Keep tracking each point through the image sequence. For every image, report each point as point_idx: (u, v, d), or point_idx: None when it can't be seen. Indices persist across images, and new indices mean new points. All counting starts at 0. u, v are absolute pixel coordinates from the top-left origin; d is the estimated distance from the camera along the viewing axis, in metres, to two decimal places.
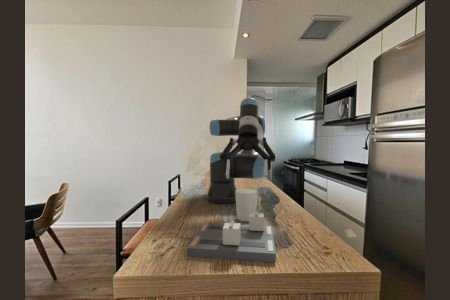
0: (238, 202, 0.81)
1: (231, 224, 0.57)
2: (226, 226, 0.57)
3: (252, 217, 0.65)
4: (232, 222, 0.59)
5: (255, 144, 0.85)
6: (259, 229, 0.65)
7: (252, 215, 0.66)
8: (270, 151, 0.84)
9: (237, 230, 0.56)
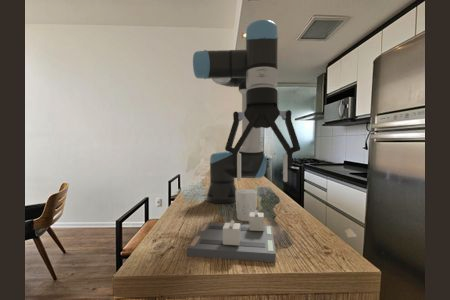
0: (238, 202, 0.81)
1: (231, 224, 0.57)
2: (226, 226, 0.57)
3: (252, 217, 0.65)
4: (232, 222, 0.59)
5: (273, 124, 0.54)
6: (259, 229, 0.65)
7: (252, 215, 0.66)
8: (294, 138, 0.54)
9: (237, 230, 0.56)
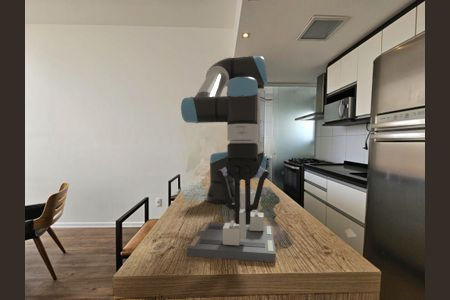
0: None
1: (231, 224, 0.57)
2: (226, 226, 0.57)
3: (252, 217, 0.65)
4: (232, 222, 0.59)
5: (247, 179, 0.55)
6: (259, 229, 0.65)
7: (252, 215, 0.66)
8: (257, 197, 0.56)
9: (237, 230, 0.56)
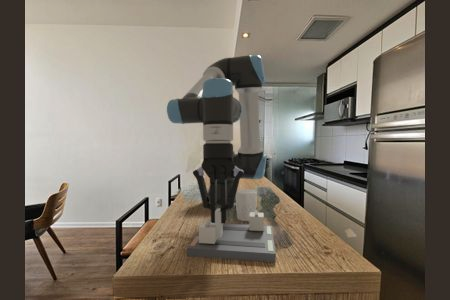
0: (238, 202, 0.81)
1: (207, 223, 0.58)
2: (202, 225, 0.58)
3: (252, 217, 0.65)
4: (209, 221, 0.59)
5: (222, 179, 0.56)
6: (259, 229, 0.65)
7: (252, 215, 0.66)
8: (232, 196, 0.57)
9: (213, 229, 0.57)
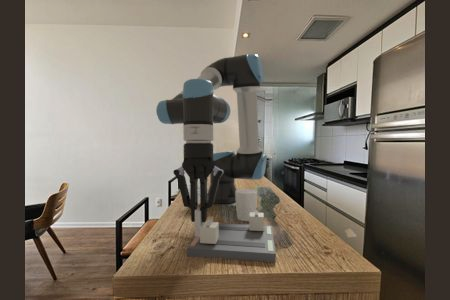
0: (238, 202, 0.81)
1: (208, 223, 0.58)
2: (203, 225, 0.58)
3: (252, 217, 0.65)
4: (210, 221, 0.59)
5: (201, 178, 0.57)
6: (259, 229, 0.65)
7: (252, 215, 0.66)
8: (211, 196, 0.57)
9: (214, 229, 0.57)
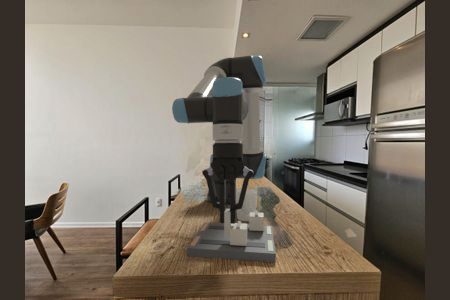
0: None
1: (238, 224, 0.57)
2: (233, 226, 0.57)
3: (252, 217, 0.65)
4: (239, 222, 0.58)
5: (232, 179, 0.56)
6: (259, 229, 0.65)
7: (252, 215, 0.66)
8: (241, 196, 0.56)
9: (244, 230, 0.55)
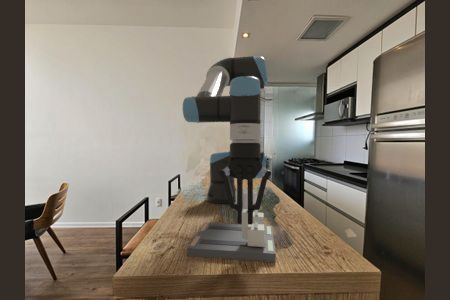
0: None
1: (256, 225, 0.56)
2: (250, 227, 0.56)
3: None
4: (256, 223, 0.58)
5: (249, 179, 0.55)
6: None
7: None
8: (259, 197, 0.55)
9: (262, 231, 0.55)
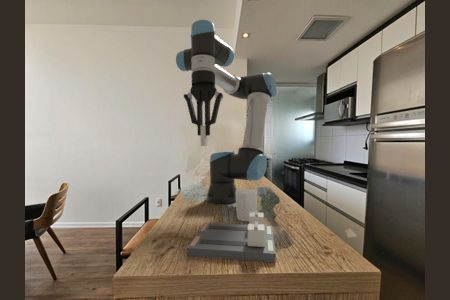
0: (238, 202, 0.81)
1: (256, 225, 0.56)
2: (250, 227, 0.56)
3: (252, 217, 0.65)
4: (256, 223, 0.58)
5: (206, 99, 0.73)
6: None
7: (252, 215, 0.66)
8: (213, 113, 0.73)
9: (262, 231, 0.55)
